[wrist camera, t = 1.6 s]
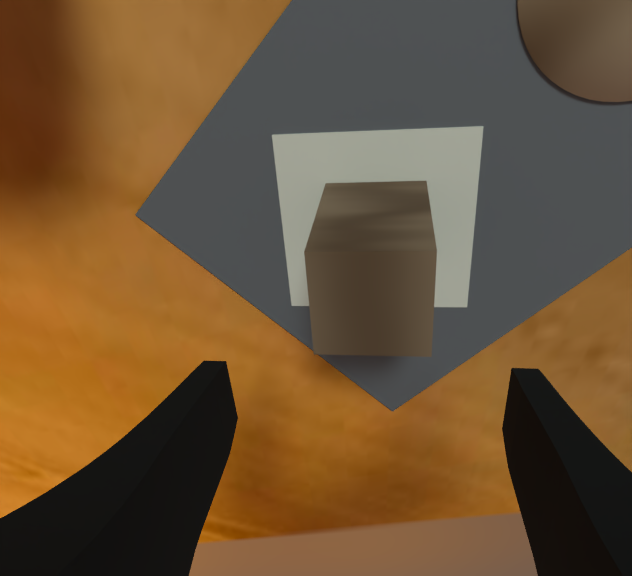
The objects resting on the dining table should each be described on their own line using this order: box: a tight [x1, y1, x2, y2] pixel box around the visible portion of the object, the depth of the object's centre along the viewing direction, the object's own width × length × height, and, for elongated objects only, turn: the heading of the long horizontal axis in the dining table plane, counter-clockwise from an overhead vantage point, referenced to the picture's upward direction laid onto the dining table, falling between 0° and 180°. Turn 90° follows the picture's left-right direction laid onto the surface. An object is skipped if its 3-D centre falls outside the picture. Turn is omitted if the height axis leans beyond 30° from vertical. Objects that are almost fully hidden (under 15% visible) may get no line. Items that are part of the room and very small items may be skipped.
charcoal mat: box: [136, 0, 632, 411], centre depth 20 cm, size 16×24×1 cm, turn 139°
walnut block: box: [304, 181, 437, 357], centre depth 19 cm, size 4×4×6 cm
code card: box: [272, 126, 483, 307], centre depth 22 cm, size 8×8×1 cm
